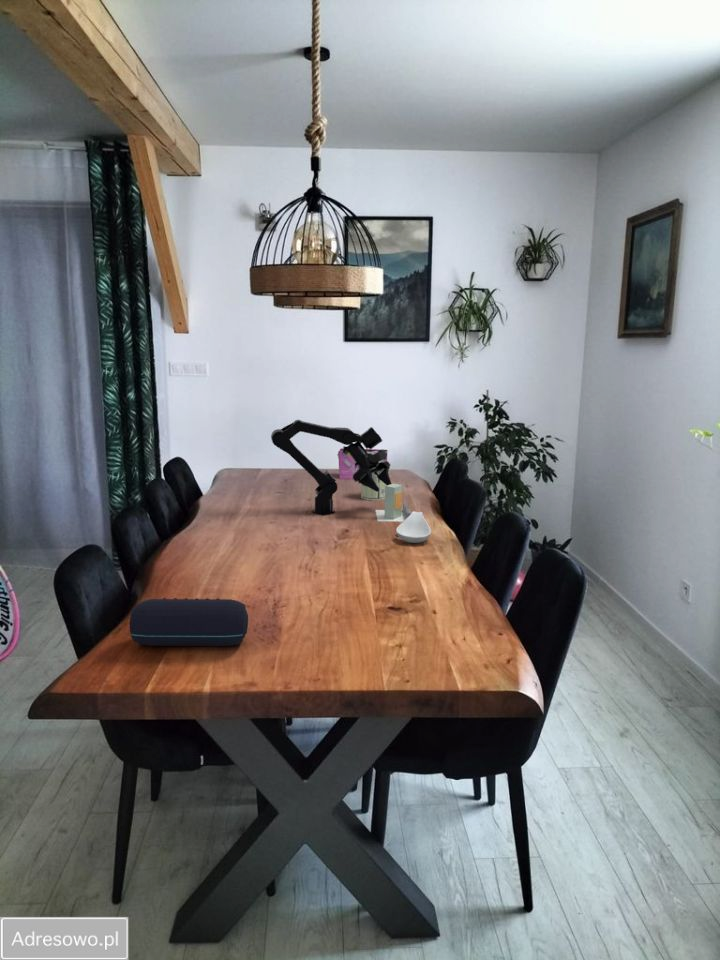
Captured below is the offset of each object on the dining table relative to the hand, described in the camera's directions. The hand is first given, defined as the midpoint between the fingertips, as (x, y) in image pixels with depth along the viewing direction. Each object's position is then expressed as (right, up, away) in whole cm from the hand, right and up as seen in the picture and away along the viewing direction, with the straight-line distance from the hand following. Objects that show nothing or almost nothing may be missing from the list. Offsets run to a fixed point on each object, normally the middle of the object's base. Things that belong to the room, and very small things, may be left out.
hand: (384, 488), depth 248 cm
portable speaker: (-46, -33, -102) cm, 117 cm away
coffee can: (-4, -4, +32) cm, 33 cm away
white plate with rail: (+3, -11, +2) cm, 11 cm away
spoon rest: (+9, -16, -20) cm, 27 cm away
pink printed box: (-8, +4, +71) cm, 72 cm away
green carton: (+3, -11, 0) cm, 11 cm away
